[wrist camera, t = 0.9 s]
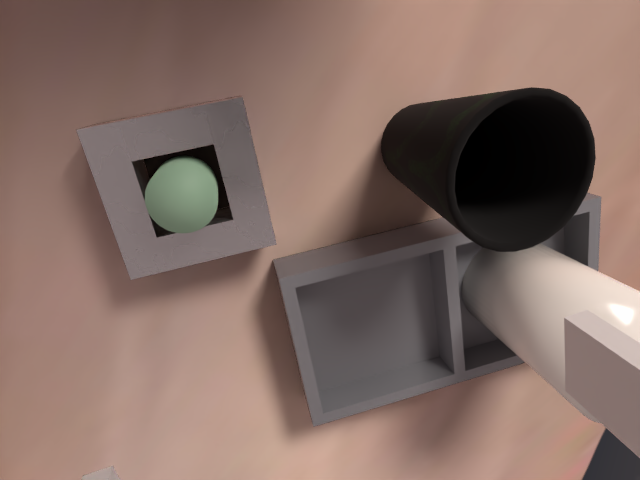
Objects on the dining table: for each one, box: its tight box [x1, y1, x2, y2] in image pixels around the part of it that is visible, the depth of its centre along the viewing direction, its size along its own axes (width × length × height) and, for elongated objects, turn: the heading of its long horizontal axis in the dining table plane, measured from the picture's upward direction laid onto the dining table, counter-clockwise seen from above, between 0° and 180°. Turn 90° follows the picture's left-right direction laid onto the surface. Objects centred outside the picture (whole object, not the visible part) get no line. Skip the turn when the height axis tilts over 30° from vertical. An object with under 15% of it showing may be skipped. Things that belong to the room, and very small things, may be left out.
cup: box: [381, 87, 595, 252], centre depth 27 cm, size 8×8×12 cm
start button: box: [145, 155, 218, 233], centre depth 26 cm, size 4×4×4 cm
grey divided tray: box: [273, 193, 601, 426], centre depth 35 cm, size 12×24×4 cm, turn 101°
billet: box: [462, 243, 640, 423], centre depth 31 cm, size 8×8×12 cm
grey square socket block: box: [76, 96, 276, 280], centre depth 28 cm, size 9×9×4 cm
